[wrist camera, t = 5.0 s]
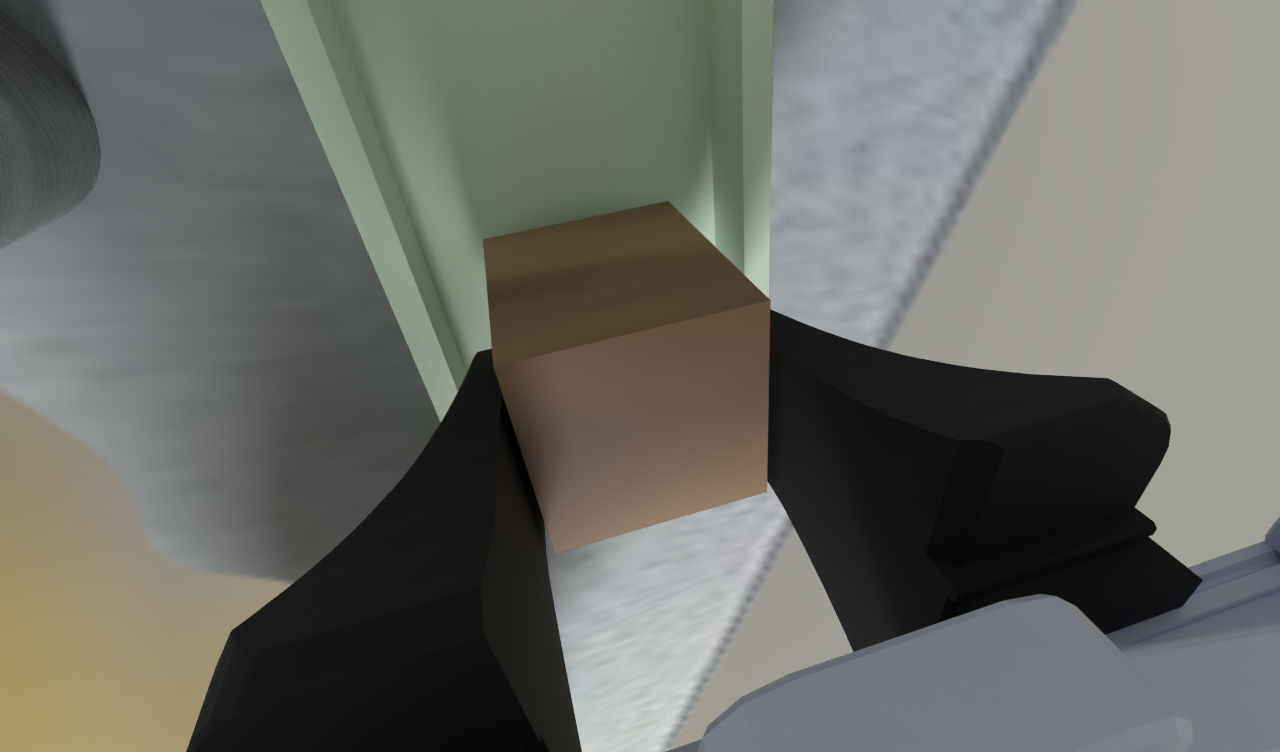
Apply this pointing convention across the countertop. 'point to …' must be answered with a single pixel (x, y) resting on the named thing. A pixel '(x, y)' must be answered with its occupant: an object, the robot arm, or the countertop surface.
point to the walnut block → (629, 370)
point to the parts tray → (529, 134)
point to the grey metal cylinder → (40, 137)
